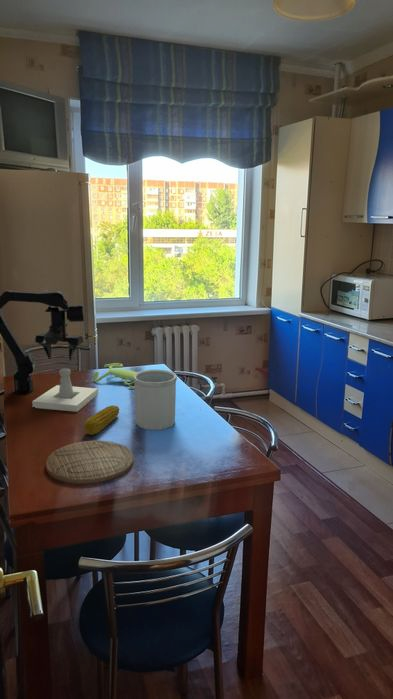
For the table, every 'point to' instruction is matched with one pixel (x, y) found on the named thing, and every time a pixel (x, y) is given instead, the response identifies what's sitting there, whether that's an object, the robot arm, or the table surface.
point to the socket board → (75, 404)
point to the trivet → (89, 462)
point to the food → (100, 420)
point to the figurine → (117, 374)
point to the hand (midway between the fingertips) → (60, 359)
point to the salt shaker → (65, 384)
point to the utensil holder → (155, 399)
